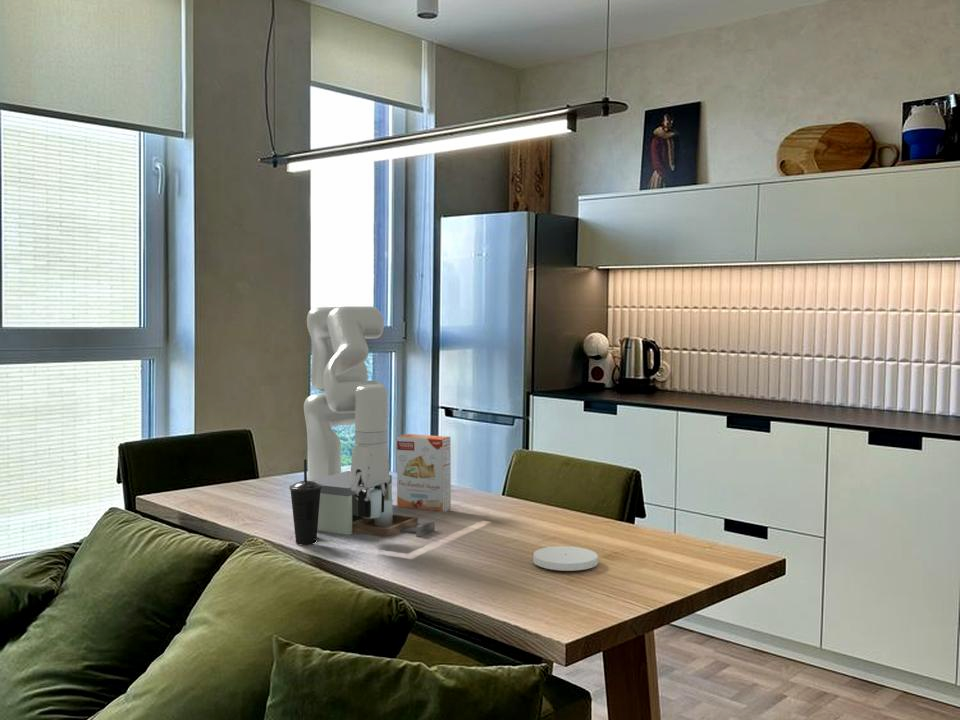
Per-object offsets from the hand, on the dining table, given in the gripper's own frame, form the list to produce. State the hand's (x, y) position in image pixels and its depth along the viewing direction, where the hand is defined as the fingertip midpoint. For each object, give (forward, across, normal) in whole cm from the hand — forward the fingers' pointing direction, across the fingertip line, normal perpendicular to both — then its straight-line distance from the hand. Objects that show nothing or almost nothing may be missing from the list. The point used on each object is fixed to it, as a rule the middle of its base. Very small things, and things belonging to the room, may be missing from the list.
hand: (371, 513), depth 211 cm
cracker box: (+9, -37, -8) cm, 39 cm away
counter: (+8, -12, -10) cm, 17 cm away
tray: (+8, -12, -1) cm, 14 cm away
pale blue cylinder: (0, 0, 0) cm, 0 cm away
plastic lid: (+7, -6, +47) cm, 48 cm away
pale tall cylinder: (+7, -15, -7) cm, 18 cm away
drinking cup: (+8, +5, -15) cm, 18 cm away
